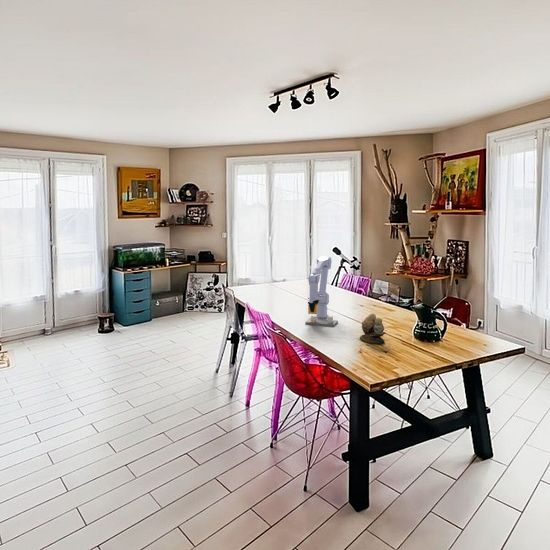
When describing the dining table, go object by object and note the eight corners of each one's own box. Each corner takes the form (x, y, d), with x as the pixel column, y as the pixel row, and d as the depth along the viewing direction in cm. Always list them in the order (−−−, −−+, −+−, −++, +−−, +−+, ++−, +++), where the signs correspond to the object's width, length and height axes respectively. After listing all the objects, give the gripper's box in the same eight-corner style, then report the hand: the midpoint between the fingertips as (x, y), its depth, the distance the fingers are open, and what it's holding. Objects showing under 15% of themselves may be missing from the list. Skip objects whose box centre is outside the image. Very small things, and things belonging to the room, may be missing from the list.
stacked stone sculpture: (391, 343, 257) (392, 315, 254) (377, 346, 251) (378, 318, 248) (368, 335, 272) (369, 309, 269) (354, 339, 265) (355, 311, 263)
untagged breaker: (328, 321, 301) (328, 315, 300) (332, 322, 300) (333, 316, 299) (327, 322, 298) (327, 316, 297) (331, 323, 297) (332, 317, 296)
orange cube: (310, 311, 306) (310, 303, 305) (318, 312, 304) (318, 304, 303) (308, 313, 301) (308, 305, 300) (316, 314, 299) (316, 305, 298)
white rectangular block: (311, 321, 305) (311, 315, 305) (315, 322, 304) (316, 316, 303) (310, 322, 302) (310, 316, 302) (314, 323, 301) (314, 317, 301)
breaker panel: (310, 320, 310) (310, 317, 310) (337, 322, 303) (337, 319, 303) (305, 324, 299) (305, 320, 299) (334, 326, 292) (334, 323, 292)
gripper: (310, 289, 308) (310, 308, 310) (305, 293, 295) (304, 312, 297) (320, 290, 306) (320, 309, 308) (315, 293, 292) (315, 313, 294)
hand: (313, 311), depth 302 cm, fingers closed on orange cube, 6 cm apart
